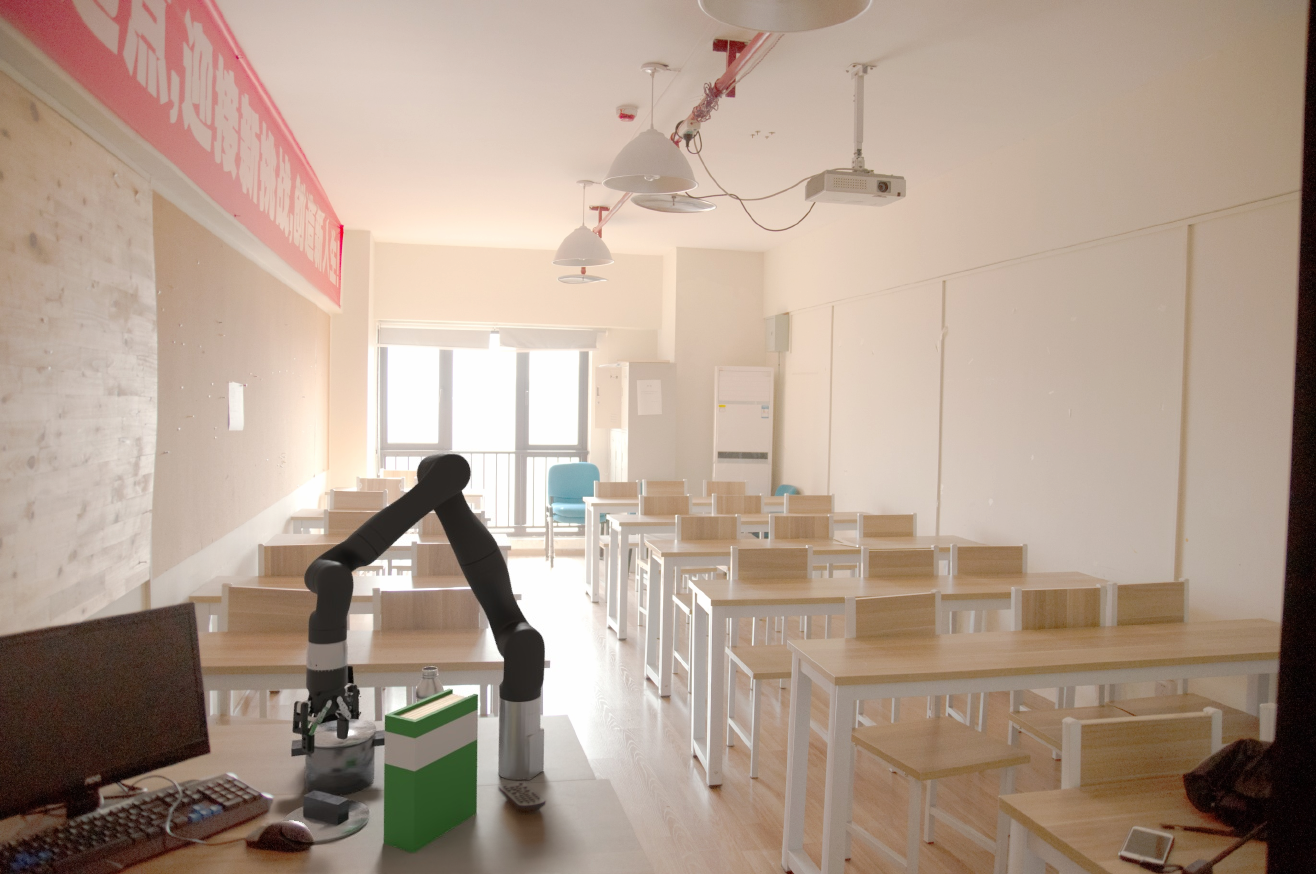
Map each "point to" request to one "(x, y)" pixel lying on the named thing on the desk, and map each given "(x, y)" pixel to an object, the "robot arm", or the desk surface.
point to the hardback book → (429, 769)
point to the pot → (341, 757)
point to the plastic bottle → (428, 684)
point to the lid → (330, 816)
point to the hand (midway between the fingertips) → (325, 745)
